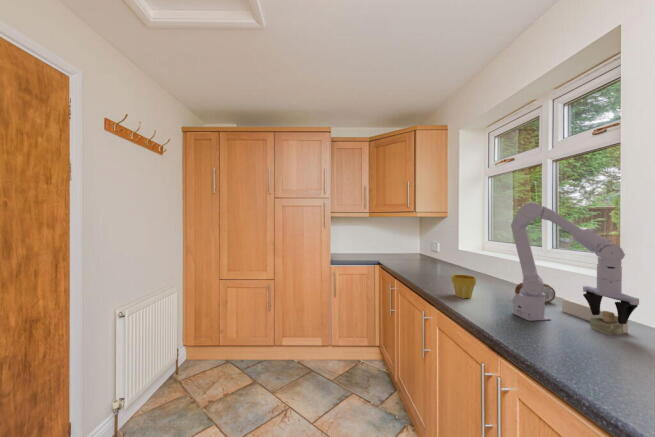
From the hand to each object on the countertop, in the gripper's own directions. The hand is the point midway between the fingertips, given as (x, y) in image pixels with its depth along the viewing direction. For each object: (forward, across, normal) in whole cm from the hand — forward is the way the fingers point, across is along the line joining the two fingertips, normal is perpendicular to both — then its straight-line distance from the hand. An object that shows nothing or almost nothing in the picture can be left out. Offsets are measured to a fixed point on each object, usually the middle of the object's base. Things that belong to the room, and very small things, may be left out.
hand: (608, 319), depth 88 cm
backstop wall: (+4, +8, -4) cm, 10 cm away
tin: (+4, +30, -2) cm, 30 cm away
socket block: (+4, 0, 0) cm, 4 cm away
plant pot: (+4, +40, +26) cm, 48 cm away
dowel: (+4, 0, 0) cm, 4 cm away
